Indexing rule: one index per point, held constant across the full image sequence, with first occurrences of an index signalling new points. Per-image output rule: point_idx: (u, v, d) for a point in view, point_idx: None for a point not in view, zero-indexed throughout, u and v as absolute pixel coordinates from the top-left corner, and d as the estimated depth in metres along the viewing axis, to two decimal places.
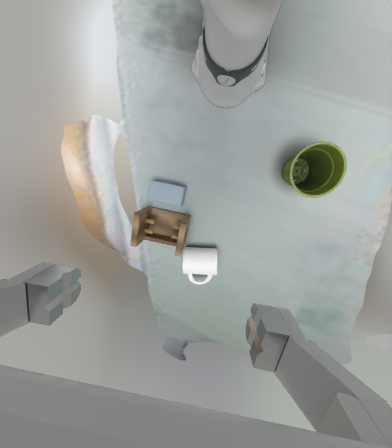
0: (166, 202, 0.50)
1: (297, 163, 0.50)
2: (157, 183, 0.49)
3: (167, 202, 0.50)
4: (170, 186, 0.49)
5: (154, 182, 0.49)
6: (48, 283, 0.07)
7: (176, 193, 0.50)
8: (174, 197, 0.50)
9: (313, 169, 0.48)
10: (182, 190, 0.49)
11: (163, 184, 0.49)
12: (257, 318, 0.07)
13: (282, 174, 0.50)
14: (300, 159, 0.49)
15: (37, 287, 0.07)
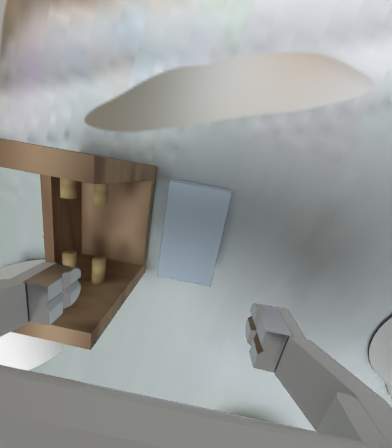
0: (166, 239, 0.17)
1: None
2: (221, 215, 0.16)
3: (166, 242, 0.17)
4: (213, 252, 0.17)
5: (225, 206, 0.16)
6: (48, 283, 0.07)
7: (193, 267, 0.18)
8: (183, 260, 0.18)
9: None
10: (202, 282, 0.18)
11: (218, 232, 0.16)
12: (257, 318, 0.07)
13: None
14: None
15: (37, 287, 0.07)
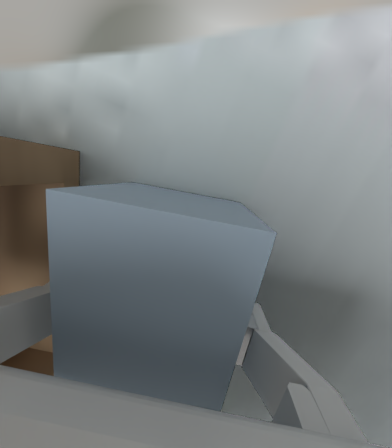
0: (67, 363, 0.06)
1: None
2: (237, 305, 0.05)
3: (69, 370, 0.06)
4: (208, 401, 0.06)
5: (248, 277, 0.04)
6: None
7: None
8: None
9: None
10: None
11: (225, 354, 0.05)
12: None
13: None
14: None
15: None
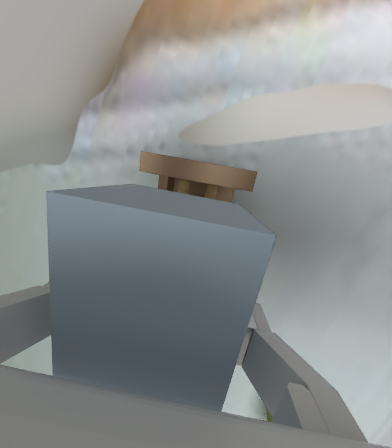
0: (66, 365, 0.06)
1: None
2: (236, 307, 0.05)
3: (68, 372, 0.06)
4: (207, 403, 0.06)
5: (248, 279, 0.04)
6: None
7: None
8: None
9: None
10: None
11: (225, 356, 0.05)
12: None
13: None
14: None
15: None
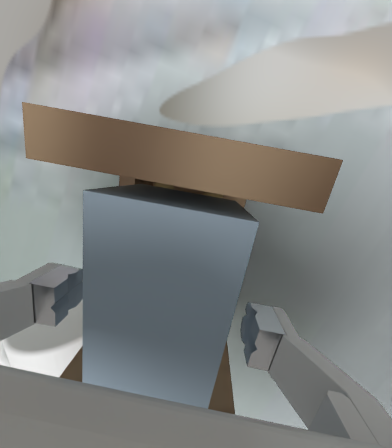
0: (94, 331, 0.07)
1: None
2: (230, 279, 0.06)
3: (95, 337, 0.07)
4: (208, 361, 0.07)
5: (238, 257, 0.06)
6: (54, 284, 0.07)
7: (162, 389, 0.08)
8: (137, 375, 0.07)
9: None
10: None
11: (222, 320, 0.06)
12: (252, 317, 0.07)
13: None
14: None
15: (43, 288, 0.07)
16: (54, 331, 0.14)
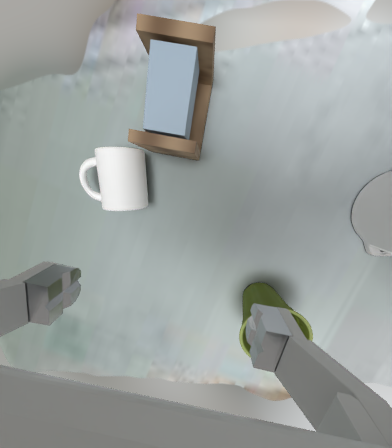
0: (149, 92, 0.22)
1: None
2: (190, 67, 0.21)
3: (149, 95, 0.22)
4: (185, 102, 0.22)
5: (192, 59, 0.21)
6: (48, 283, 0.07)
7: (170, 117, 0.23)
8: (162, 111, 0.23)
9: None
10: (178, 132, 0.23)
11: (188, 84, 0.22)
12: (257, 318, 0.07)
13: (256, 283, 0.39)
14: None
15: (37, 287, 0.07)
16: None
